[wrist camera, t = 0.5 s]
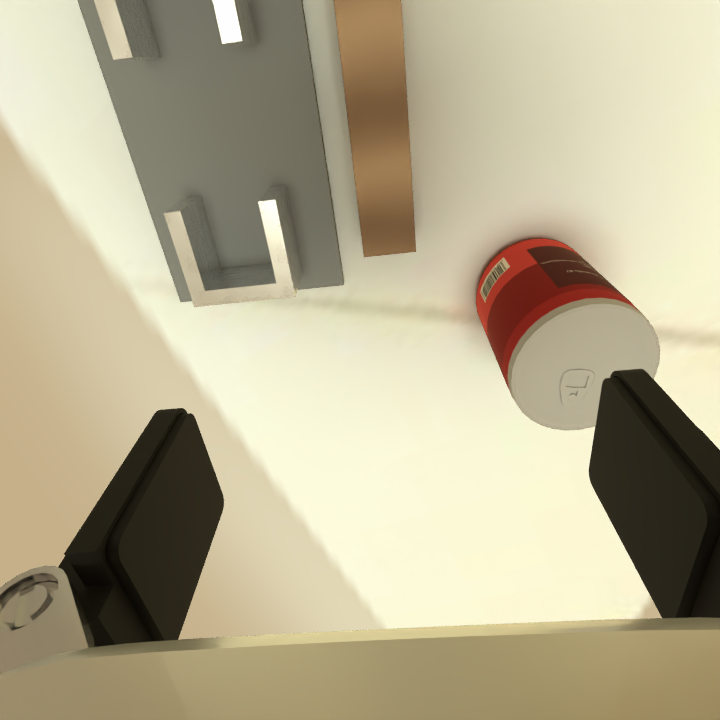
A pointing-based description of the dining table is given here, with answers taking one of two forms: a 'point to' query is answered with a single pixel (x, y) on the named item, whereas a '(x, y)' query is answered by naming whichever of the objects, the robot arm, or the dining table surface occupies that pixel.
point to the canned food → (559, 331)
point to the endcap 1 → (137, 35)
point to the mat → (226, 130)
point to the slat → (378, 121)
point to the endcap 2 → (241, 281)
